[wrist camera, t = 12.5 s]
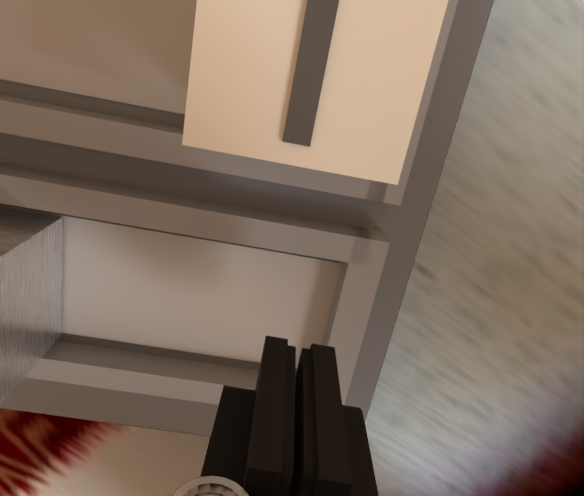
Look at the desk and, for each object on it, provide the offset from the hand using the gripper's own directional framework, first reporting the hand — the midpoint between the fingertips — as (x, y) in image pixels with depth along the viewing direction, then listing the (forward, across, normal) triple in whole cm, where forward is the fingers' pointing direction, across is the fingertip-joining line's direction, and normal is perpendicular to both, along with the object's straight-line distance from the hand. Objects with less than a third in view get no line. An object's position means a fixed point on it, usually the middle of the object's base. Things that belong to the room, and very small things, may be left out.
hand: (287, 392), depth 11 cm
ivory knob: (+4, +1, -8) cm, 9 cm away
